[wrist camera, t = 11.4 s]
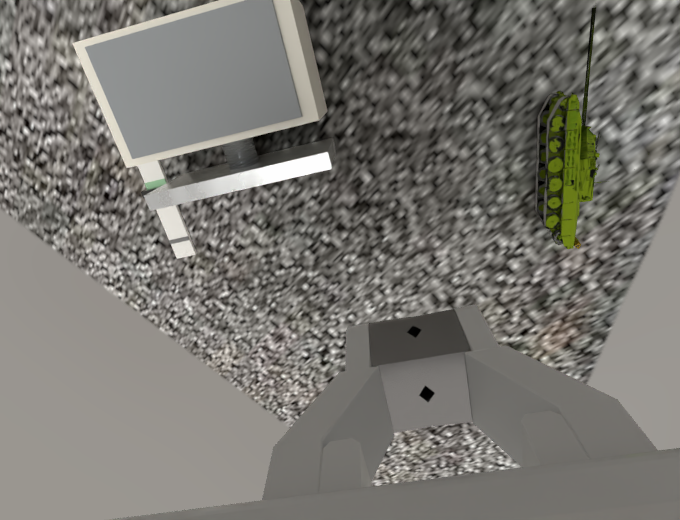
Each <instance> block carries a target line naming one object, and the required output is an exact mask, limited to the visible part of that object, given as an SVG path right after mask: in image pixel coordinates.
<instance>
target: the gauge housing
mask: <svg viewBox="0 0 680 520" xmlns="http://www.w3.org/2000/svg"><path fill="white" fill-rule="evenodd" d="M72 44H73V46H74V48H75V50H76V53H77V55H78V57H79V60H80V62H81V64H82V66H83V69H84V71H85V73H86V76H87V78H88V80H89V83H90V85H91V87H92V89H93V92H94V94H95V96H96V99H97V101H98V103H99V105H100V108H101V110H102V112H103V115H104V117H105V119H106V122H107V124H108V126H109V128H110V131H111V133H112V135H113V138H114V140H115V142H116V144H117V147H118V149H119V151H120V154H121V156H122V158H123V160H124V163H125V165H126V167H127V168H129V167H133V166H138V168H139V170H140V173H141V175H142V177H143V180H144V182H145V186H146V188H147V190H148V189H152V188H156V187H160V186H162V185H164V184H166V183H168V180H167V177H166V175H165V172H164V170H163V167H162V165H161V162H160V160H161V159H165V158H169V157H173V156H178V155H182V154H186V153H190V152H194V151H198V150H202V149H206V148H210V147H214V146H218V145H222V144H226V143H230V142H234V141H238V140H242V139H246V138H250V137H254V136H258V135H262V134H266V133H270V132H274V131H278V130H282V129H287V128H291V127H295V126H299V125H303V124H307V123H311V122H315V121H319V120H320V119H321V118H322V117H323V116H324V115H325V114H326V112H327V107H326V102H325V98H324V94H323V89H322V85H321V81H320V77H319V72H318V68H317V64H316V59H315V55H314V51H313V47H312V42H311V38H310V34H309V30H308V25H307V21H306V17H305V12H304V8H303V6H302V4H301V3H300V1H299V0H218V1H215V2H211V3H208V4H205V5H201V6H198V7H194V8H191V9H188V10H184V11H181V12H177V13H174V14H171V15H167V16H164V17H160V18H157V19H154V20H150V21H147V22H143V23H140V24H136V25H133V26H130V27H126V28H123V29H119V30H116V31H113V32H109V33H106V34H102V35H99V36H96V37H92V38H89V39H85V40H82V41H79V42H75V43H72ZM156 210H157V213H158V215H159V217H160V220H161V222H162V224H163V227H164V229H165V231H166V234H167V236H168V239H169V242H170V244H171V246H172V248H173V250H174V253H175V255H176V257H177V258H182V257H187V256H191V255H196V254H197V252H196V249H195V247H194V244H193V242H192V239H191V237H190V234H189V232H188V229H187V227H186V224H185V222H184V219H183V217H182V214H181V212H180V209H179V207H178V205H174V206H169V207H165V208H161V209H156Z"/></svg>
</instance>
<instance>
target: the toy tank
mask: <svg viewBox="0 0 680 520" xmlns="http://www.w3.org/2000/svg"><path fill="white" fill-rule="evenodd" d="M595 6H596V5H595ZM595 12H596V8H592V16H591V27H590V38H589V49H588V60H587V71H588V70H589V71H588V73H589V74H588V73H587V71H586V82H587V81H588V82H587V84H586V82H585V92H584V99H583V111H582V120H581V116H580V112H579V100H578V98H577V95H571V96H566V95H564V94H563V92H562V93H561V92H560V91H558V92H556V93H552V94H550V95H549V96H548V97H547V99H546V101H545V103H544V105H543V107H542V109H541V111H540V113H539V115H538V123H537V164H536V196H535V211H536V212H538V213H539V214H541V215H543V221H542V219H541V218H540V216H539V215H538V216H539V218H540V219H541V221H542V223H543V225H544V226H545V227H546V228H548V229H550V230H551V232H552V233H553V234H552V236H551V237H552V239H554V241H555V243H556V244H558V245H561V244H564V246H565V247H566V248H567V249H570V248H573V246H575V247H577V248H579V247H581V246H580V245H581V244H580V242H579V241H578V239H577V238H576V237H575V233H576V226H577V216H579V202H585V201H591V200H592V198H593V187H594V183H596V182H594V177H595V175H596V174H597V173H596V172H595V171H597V170H598V167H599V165H598V166H597V168H596V160H597V157H599V153H597V151H596V150H595V149H597V146H596V148H595V140H596V138H595V137H596V135H595V134H594V135H593V133H592V132H591V131H590V130H589V129H590V128H591V127H589V126H585V123H586V115H584V113H585V114H586V111H587V102H588V87H589V75H590V65H591V54H592V44H593V33H594V22H595ZM593 14H594V15H593ZM593 16H594V17H593ZM592 25H593V27H592ZM591 37H592V38H591ZM590 39H591V40H590ZM590 48H591V49H590ZM589 50H590V52H589ZM589 56H590V57H589ZM589 59H590V60H589ZM588 61H589V62H590V63H588ZM588 67H589V68H588ZM587 77H588V79H587ZM586 88H587V90H586ZM585 93H586V94H585ZM572 94H573V93H572ZM585 97H586V98H585ZM547 103H548V104H547ZM546 104H547V105H550V109H549V110H548V111H547V110H545V111H543V109H544V107H545V106H546ZM585 109H586V110H585ZM542 111H543V112H542ZM583 117H584V119H585V121H584V119H583ZM581 121H582V122H583V123H582V122H581ZM540 125H541V126H544V127H547V130H546V129H545V130H543V131H541V133H540ZM581 125H582V126H581ZM598 138H599V135H598ZM598 138H597V139H598ZM539 143H540V144H541V145H544V146H546V149H544V148H542V149H540V151H539ZM597 143H598V141H597V142H596V144H597ZM648 155H649V154H648ZM539 162H541V163H543V164H545V165H546V166H544V165H543V166H541V167H539ZM539 168H540V169H539ZM538 169H539V170H538ZM634 170H635V169H634ZM538 179H539V180H541V181H545V184H544V183H541V185H540V184H539V185H540V186H539V185H538ZM603 182H604V181H603ZM607 182H608V181H607ZM598 183H600V182H598ZM537 195H538V196H539V197H540V198H544V199H542V200H543V201H542V200H540V201H541V202H540V201H538V203H537ZM599 195H600V194H599ZM538 213H537V214H538ZM547 231H548V230H547ZM549 234H550V233H549ZM556 238H557V239H556Z"/></svg>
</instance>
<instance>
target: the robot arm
mask: <svg viewBox="0 0 680 520" xmlns="http://www.w3.org/2000/svg"><path fill="white" fill-rule="evenodd" d="M465 422H473V424H474V425H475V426H477V427H478V428H479V429H480V430H481V431H482V432H483V433H484V434H486V435H487V436H488V437H489V438H490V439H491V440H492V441H493V442H495V443H496V444H497V445H498V446H499V447H500V448H501V449H502V450H504V451H505V452H506V453H507V454H508V455H509V456H510V457H511V458H513V459H514V460H515V461H516V462H517V463H518V464H519V465H520V466H521V467H522V468H514V469H506V470H498V471H490V472H483V473H475V474H467V475H459V476H451V477H443V478H435V479H427V480H420V481H412V482H404V483H396V484H388V485H380V486H372V484H371V481H372V479H373V477H374V475H375V473H376V471H377V469H378V467H379V465H380V463H381V461H382V459H383V457H384V455H385V453H386V451H387V449H388V447H389V445H390V443H391V440H392V438H393V436H394V433H395V432H401V431H407V430H413V429H419V428H425V427H431V426H432V425H433V426H439V425H448V424H457V423H465ZM110 520H680V448H676V449H668V450H659V451H658V450H657V449H656V447H655V446H654V445H653V444H652V442H651V441H650V440H649V439H648V437H647V436H646V435H645V434H644V432H643V431H642V430H641V429H640V427H639V426H638V425H637V424H636V422H635V421H634V420H633V419H632V417H631V416H630V415H629V414H628V412H627V411H626V410H625V409H624V407H623V406H622V405H621V404H620V402H619V401H618V400H617V399H615V398H613V397H611V396H609V395H607V394H605V393H603V392H601V391H598V390H596V389H595V388H592V387H590V386H588V385H586V384H584V383H582V382H580V381H578V380H576V379H574V378H572V377H570V376H568V375H566V374H564V373H562V372H560V371H557V370H555V369H553V368H551V367H549V366H547V365H545V364H543V363H541V362H539V361H537V360H535V359H533V358H531V357H529V356H527V355H525V354H523V353H520V352H518V351H516V350H514V349H512V348H510V347H508V346H501V347H500V346H499V345H498V343H497V341H496V339H495V337H494V335H493V333H492V332H491V330H490V328H489V326H488V324H487V322H486V320H485V318H484V317H483V315H482V313H481V311H480V309H479V307H478V306H477V305H475V304H474V305H470V306H465V307H460V308H455V309H452V310H446V311H441V312H436V313H431V314H426V315H421V316H415V317H406V318H399V319H393V320H386V321H380V322H373V323H369V324H368V323H366V324H360V325H355V326H349V327H348V328H347V330H346V365H345V372H339V373H338V374H337V376H336V377H335V378H334V379H333V380H332V381H331V382H330V384H329V385H328V386H327V387H326V388H325V389H324V390H323V391H322V393H321V394H320V395H319V396H318V397H317V398H316V399H315V401H314V402H313V403H312V404H311V405H310V406H309V407H308V409H307V410H306V411H305V412H304V413H303V414H302V415H301V416H300V418H299V419H298V420H297V421H296V422H295V423H294V424H293V426H292V427H291V428H290V429H289V430H288V431H287V432H286V434H285V435H284V436H283V437H282V438H281V439H280V440H279V441H278V443H277V444H276V445H275V446H274V447H273V452H272V456H271V461H270V466H269V470H268V475H267V480H266V484H265V489H264V494H263V498H262V500H261V501H254V502H245V503H238V504H230V505H222V506H214V507H206V508H198V509H190V510H182V511H175V512H167V513H158V514H151V515H142V516H134V517H127V518H118V519H110Z"/></svg>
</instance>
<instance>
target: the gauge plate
mask: <svg viewBox="0 0 680 520" xmlns="http://www.w3.org/2000/svg"><path fill="white" fill-rule="evenodd" d="M222 148H223V151H224V154H225V157H226V160H227V163H225V164H221V165H217V166H213V167H209V168H205V169H201V170H196V171H192V172H188V173H185V174H183V175H181V176H179V177H177V178H175V179H173V180H172V181H170V182H168V183H166V184H164V185H162V186H160V187H156V188H152V189H148V190H144V191H142V192H141V193H142V196H143V198H145V200H146V202H147V205H148V207H149V209H150V211H152V210H156V209H161V208H165V207H169V206H174V205H178V204H182V203H187V202H191V201H195V200H199V199H204V198H208V197H212V196H217V195H221V194H225V193H230V192H234V191H238V190H243V189H247V188H251V187H256V186H260V185H264V184H268V183H273V182H277V181H281V180H286V179H290V178H294V177H299V176H303V175H307V174H312V173H316V172H320V171H325V170H329V169H332V166H333V163H334V159H335V155H336V147H335V142H334V138H329V139H325V140H321V141H317V142H312V143H308V144H304V145H300V146H296V147H292V148H288V149H283V150H279V151H275V152H271V153H267V154H263V155H259V156H258V155H257V152H256V149H255V145H254V142H253V139H252V137H250V138H246V139H242V140H238V141H234V142H230V143H226V144H222Z"/></svg>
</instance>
